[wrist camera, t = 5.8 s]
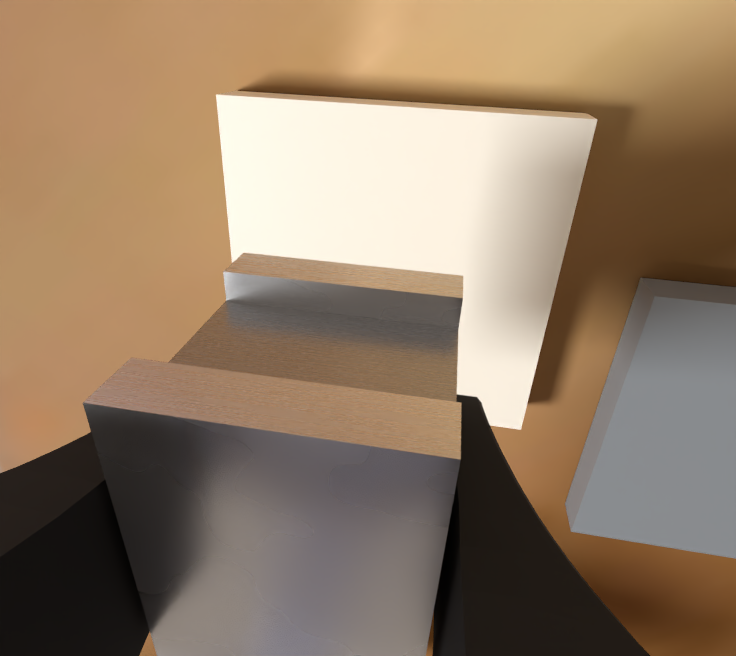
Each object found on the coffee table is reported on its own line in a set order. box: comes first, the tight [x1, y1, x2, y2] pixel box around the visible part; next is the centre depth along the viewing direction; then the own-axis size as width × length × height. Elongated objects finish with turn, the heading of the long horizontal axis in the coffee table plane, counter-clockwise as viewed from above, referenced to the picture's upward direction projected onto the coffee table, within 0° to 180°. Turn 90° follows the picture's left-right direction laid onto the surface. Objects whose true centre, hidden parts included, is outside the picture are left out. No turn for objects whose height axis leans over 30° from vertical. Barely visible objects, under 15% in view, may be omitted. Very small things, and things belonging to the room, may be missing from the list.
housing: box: [83, 253, 463, 656], centre depth 9 cm, size 6×4×5 cm
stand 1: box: [216, 91, 598, 430], centre depth 18 cm, size 11×11×2 cm
